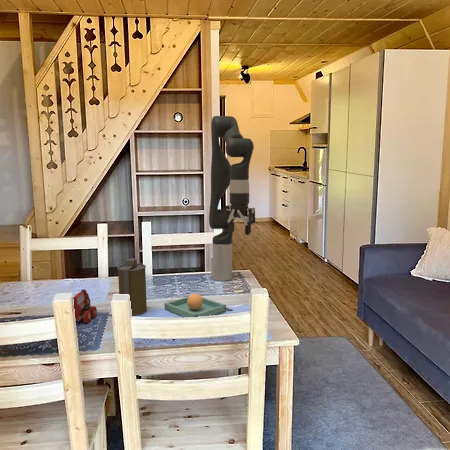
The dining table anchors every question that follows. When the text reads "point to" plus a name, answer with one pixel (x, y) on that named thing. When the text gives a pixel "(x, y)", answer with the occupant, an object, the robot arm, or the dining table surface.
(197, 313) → the tray
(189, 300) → the ball
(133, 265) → the canister
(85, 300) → the toy fire truck
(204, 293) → the dining table surface
